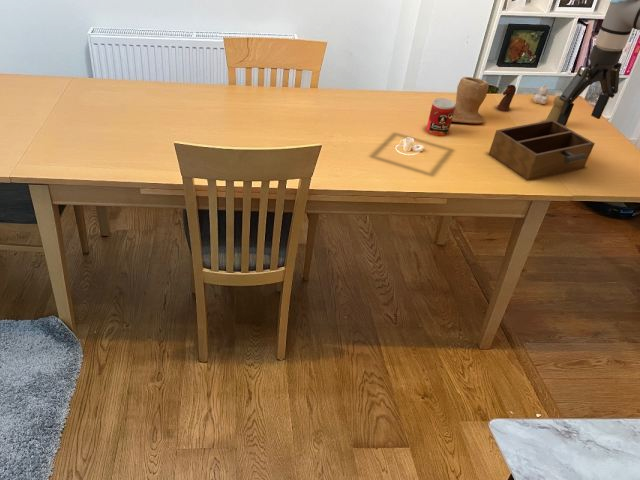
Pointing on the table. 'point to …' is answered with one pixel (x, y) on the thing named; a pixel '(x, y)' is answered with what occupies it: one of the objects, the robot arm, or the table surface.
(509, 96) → the chess piece
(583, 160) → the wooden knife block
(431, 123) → the canned food
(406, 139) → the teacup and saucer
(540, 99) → the white lumpy figurine
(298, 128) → the table surface
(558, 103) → the cork
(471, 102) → the tan brown vase
